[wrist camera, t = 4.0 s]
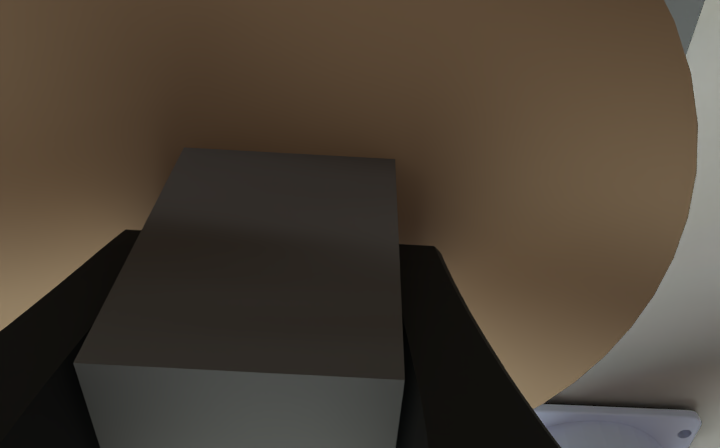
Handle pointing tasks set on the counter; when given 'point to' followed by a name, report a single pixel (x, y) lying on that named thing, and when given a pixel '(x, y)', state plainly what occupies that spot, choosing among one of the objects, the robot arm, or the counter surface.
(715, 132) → the counter surface
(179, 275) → the lid
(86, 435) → the robot arm
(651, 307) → the counter surface
